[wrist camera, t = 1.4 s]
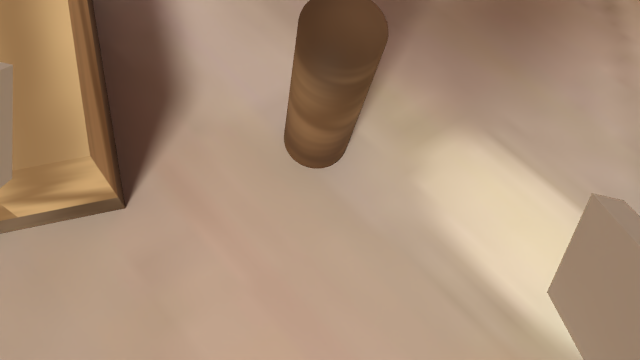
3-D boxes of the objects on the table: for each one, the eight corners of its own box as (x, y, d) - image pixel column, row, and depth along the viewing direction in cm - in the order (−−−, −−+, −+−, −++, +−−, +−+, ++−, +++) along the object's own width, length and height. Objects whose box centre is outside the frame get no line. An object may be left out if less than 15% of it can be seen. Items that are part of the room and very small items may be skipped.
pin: (337, 105, 38) (373, -16, 27) (354, 161, 37) (399, 59, 26) (277, 116, 37) (288, -4, 26) (292, 174, 36) (310, 74, 25)
